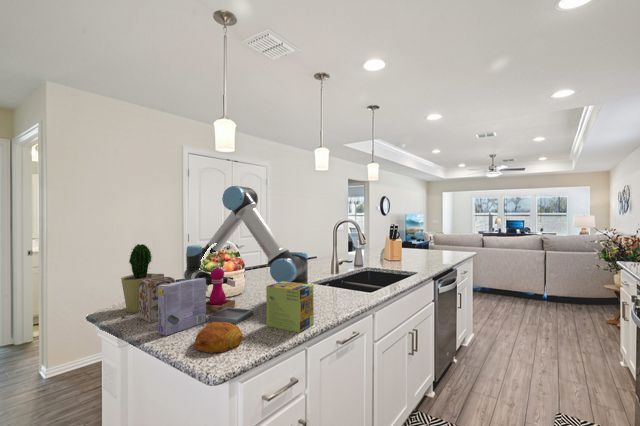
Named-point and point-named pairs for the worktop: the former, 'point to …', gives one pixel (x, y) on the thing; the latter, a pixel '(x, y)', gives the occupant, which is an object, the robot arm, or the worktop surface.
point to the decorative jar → (151, 296)
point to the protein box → (290, 306)
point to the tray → (230, 315)
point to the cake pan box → (181, 305)
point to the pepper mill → (217, 287)
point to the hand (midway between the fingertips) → (221, 285)
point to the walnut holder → (215, 309)
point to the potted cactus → (136, 276)
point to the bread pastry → (218, 337)
